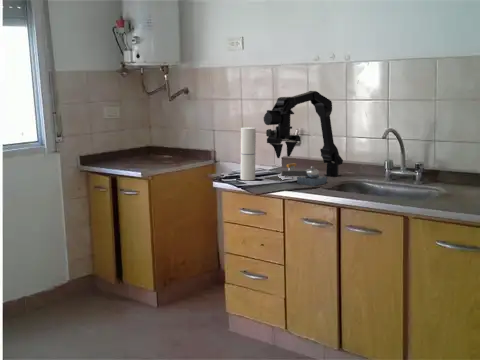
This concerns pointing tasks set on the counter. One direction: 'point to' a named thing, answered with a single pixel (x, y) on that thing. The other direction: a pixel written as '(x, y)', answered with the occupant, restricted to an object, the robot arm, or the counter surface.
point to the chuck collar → (301, 172)
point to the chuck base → (312, 180)
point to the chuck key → (291, 166)
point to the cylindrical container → (248, 153)
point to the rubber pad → (274, 178)
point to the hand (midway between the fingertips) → (283, 157)
